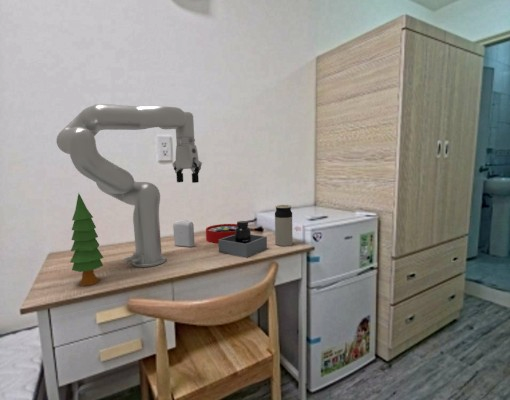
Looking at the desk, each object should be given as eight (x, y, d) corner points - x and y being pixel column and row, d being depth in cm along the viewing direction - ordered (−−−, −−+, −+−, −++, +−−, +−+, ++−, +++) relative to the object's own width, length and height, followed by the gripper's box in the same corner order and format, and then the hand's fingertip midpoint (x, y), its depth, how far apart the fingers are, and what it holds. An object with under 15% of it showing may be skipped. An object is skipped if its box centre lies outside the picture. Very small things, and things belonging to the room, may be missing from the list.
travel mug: (291, 246, 136) (291, 207, 133) (274, 246, 137) (273, 207, 135) (293, 242, 143) (292, 204, 141) (276, 241, 145) (275, 204, 143)
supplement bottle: (245, 251, 127) (244, 223, 125) (232, 250, 130) (231, 222, 128) (253, 247, 133) (253, 220, 131) (240, 246, 136) (239, 219, 134)
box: (246, 257, 121) (245, 244, 121) (218, 252, 130) (218, 239, 129) (266, 248, 133) (266, 236, 133) (240, 244, 142) (240, 232, 141)
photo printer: (173, 245, 143) (171, 220, 141) (179, 243, 146) (177, 218, 145) (190, 247, 138) (188, 221, 136) (196, 245, 142) (194, 219, 140)
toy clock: (250, 229, 147) (209, 233, 140) (250, 241, 147) (210, 246, 141) (238, 222, 166) (202, 225, 159) (239, 232, 166) (203, 236, 160)
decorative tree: (71, 289, 94) (61, 194, 91) (74, 279, 103) (65, 191, 99) (105, 283, 98) (97, 192, 95) (106, 274, 107) (98, 190, 103)
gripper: (206, 141, 126) (208, 182, 128) (179, 143, 136) (181, 181, 138) (192, 140, 120) (195, 183, 122) (165, 143, 130) (167, 182, 132)
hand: (187, 182), depth 130 cm, fingers open, 9 cm apart
